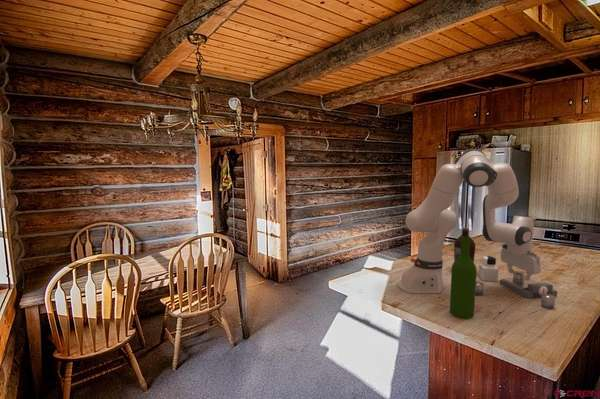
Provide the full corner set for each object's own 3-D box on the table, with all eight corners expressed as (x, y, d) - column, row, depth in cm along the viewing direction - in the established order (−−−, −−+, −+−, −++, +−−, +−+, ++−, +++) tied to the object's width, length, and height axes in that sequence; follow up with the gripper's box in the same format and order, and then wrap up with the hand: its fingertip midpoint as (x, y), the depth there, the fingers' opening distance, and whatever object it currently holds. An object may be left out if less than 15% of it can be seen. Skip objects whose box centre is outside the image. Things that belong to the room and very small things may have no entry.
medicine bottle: (493, 277, 171) (494, 255, 169) (497, 282, 164) (499, 259, 163) (478, 276, 173) (479, 254, 171) (482, 280, 166) (483, 258, 165)
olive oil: (463, 267, 186) (465, 225, 183) (478, 273, 176) (481, 229, 173) (448, 269, 183) (450, 227, 180) (463, 276, 173) (465, 231, 170)
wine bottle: (466, 308, 136) (470, 233, 132) (478, 318, 127) (483, 239, 123) (445, 308, 135) (449, 234, 131) (456, 319, 126) (460, 239, 122)
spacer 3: (547, 309, 134) (548, 298, 133) (538, 304, 138) (539, 293, 138) (556, 308, 134) (558, 297, 134) (547, 304, 139) (548, 293, 138)
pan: (522, 289, 148) (522, 287, 148) (503, 280, 160) (503, 278, 160) (547, 287, 150) (547, 286, 150) (526, 278, 162) (526, 276, 162)
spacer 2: (526, 284, 152) (527, 274, 152) (517, 284, 152) (518, 274, 151) (518, 280, 157) (519, 270, 156) (510, 281, 156) (511, 271, 156)
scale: (528, 298, 144) (529, 287, 143) (499, 284, 161) (500, 273, 160) (557, 296, 146) (558, 285, 145) (525, 282, 163) (526, 272, 163)
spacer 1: (474, 295, 148) (475, 285, 148) (470, 291, 153) (471, 281, 152) (484, 295, 148) (485, 285, 147) (480, 291, 152) (481, 281, 151)
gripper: (546, 254, 143) (543, 284, 144) (510, 243, 163) (508, 269, 164) (533, 255, 142) (531, 285, 143) (499, 243, 162) (497, 269, 163)
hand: (518, 276), depth 154 cm, fingers open, 8 cm apart
